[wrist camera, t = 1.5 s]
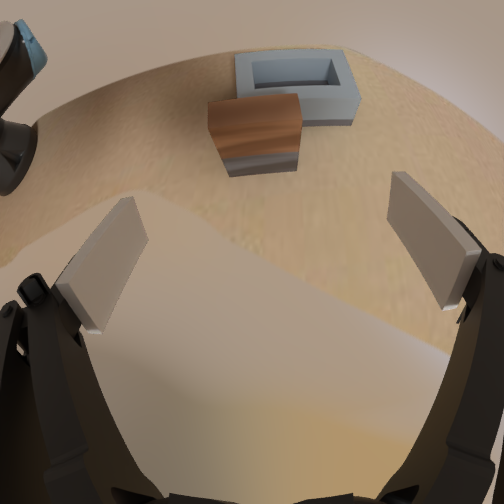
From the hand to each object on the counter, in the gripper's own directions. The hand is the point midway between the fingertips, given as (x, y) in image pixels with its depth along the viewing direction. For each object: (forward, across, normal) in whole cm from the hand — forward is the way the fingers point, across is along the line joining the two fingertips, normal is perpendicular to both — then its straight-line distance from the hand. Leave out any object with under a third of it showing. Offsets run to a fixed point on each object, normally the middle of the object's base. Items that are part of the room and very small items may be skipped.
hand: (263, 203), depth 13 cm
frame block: (+27, +5, +2) cm, 27 cm away
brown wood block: (+20, 0, -5) cm, 21 cm away
